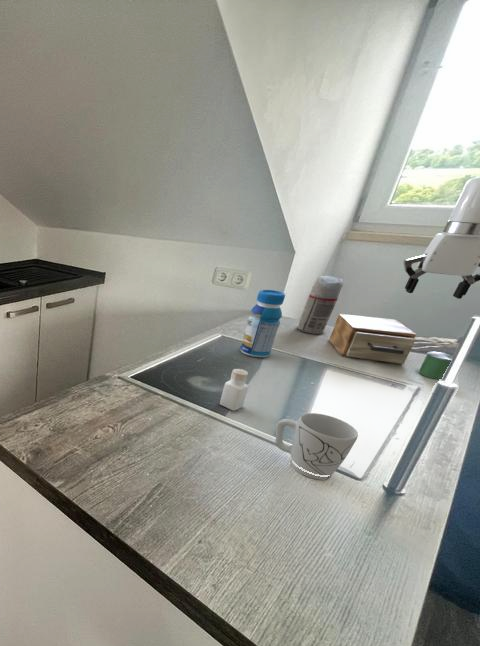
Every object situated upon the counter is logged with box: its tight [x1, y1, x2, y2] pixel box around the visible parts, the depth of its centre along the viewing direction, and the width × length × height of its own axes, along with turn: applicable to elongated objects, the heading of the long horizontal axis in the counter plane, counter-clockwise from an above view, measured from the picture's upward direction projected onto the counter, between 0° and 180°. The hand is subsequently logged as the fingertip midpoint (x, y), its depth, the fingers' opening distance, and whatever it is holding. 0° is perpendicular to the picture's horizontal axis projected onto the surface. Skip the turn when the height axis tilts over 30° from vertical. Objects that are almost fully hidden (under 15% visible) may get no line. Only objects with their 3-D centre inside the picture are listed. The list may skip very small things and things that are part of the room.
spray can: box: [296, 274, 344, 335], centre depth 139 cm, size 8×8×20 cm
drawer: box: [346, 330, 416, 365], centre depth 119 cm, size 18×13×8 cm
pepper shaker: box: [219, 368, 249, 411], centre depth 93 cm, size 4×4×10 cm
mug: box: [274, 412, 359, 481], centre depth 73 cm, size 11×8×10 cm
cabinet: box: [329, 313, 417, 365], centre depth 123 cm, size 15×15×10 cm
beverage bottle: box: [240, 289, 286, 358], centre depth 120 cm, size 8×8×20 cm
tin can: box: [418, 351, 454, 380], centre depth 109 cm, size 6×6×6 cm
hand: (432, 294), depth 106 cm, fingers open, 9 cm apart
